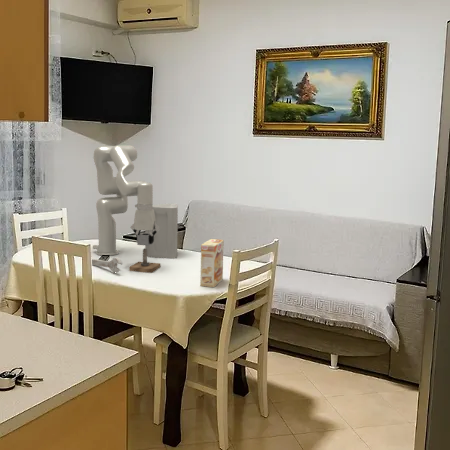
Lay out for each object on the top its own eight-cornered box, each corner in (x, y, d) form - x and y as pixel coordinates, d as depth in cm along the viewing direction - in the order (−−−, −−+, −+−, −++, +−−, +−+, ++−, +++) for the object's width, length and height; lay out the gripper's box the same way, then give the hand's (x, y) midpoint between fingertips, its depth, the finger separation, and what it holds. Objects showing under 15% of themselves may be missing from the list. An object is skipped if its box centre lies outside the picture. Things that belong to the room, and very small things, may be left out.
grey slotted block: (137, 244, 294) (137, 235, 294) (142, 242, 300) (141, 232, 299) (148, 245, 293) (148, 235, 292) (153, 243, 299) (153, 233, 298)
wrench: (92, 269, 308) (122, 274, 286) (89, 269, 307) (119, 275, 285) (91, 253, 308) (121, 258, 285) (87, 254, 306) (118, 258, 284)
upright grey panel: (160, 260, 317) (160, 209, 312) (144, 255, 328) (144, 205, 323) (188, 256, 329) (188, 206, 324) (172, 251, 340) (172, 203, 335)
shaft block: (129, 270, 295) (129, 250, 293) (138, 265, 306) (138, 245, 304) (151, 272, 292) (151, 252, 290) (160, 267, 303) (160, 247, 301)
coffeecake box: (214, 287, 269) (215, 245, 265) (199, 286, 271) (200, 244, 267) (223, 279, 283) (224, 239, 280) (209, 278, 285) (209, 238, 281)
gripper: (125, 207, 292) (126, 243, 295) (158, 209, 288) (158, 245, 291) (132, 205, 299) (132, 240, 302) (164, 207, 295) (164, 242, 298)
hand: (145, 242), depth 296 cm, fingers closed on grey slotted block, 6 cm apart
